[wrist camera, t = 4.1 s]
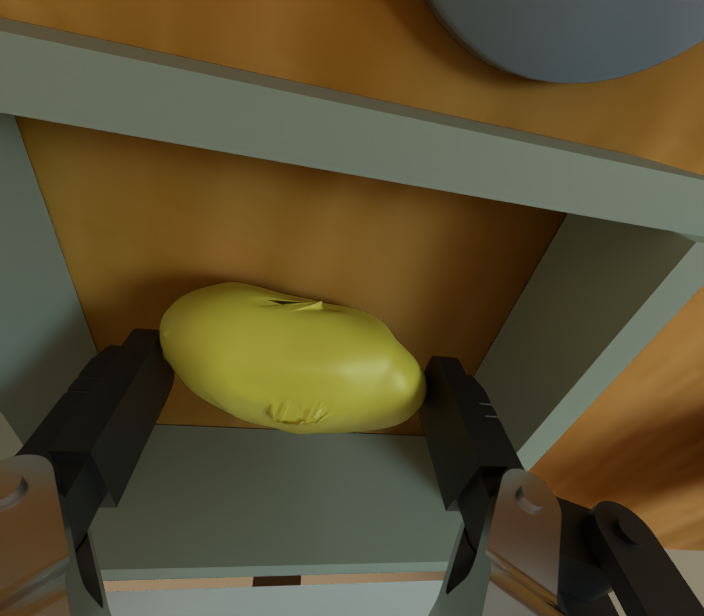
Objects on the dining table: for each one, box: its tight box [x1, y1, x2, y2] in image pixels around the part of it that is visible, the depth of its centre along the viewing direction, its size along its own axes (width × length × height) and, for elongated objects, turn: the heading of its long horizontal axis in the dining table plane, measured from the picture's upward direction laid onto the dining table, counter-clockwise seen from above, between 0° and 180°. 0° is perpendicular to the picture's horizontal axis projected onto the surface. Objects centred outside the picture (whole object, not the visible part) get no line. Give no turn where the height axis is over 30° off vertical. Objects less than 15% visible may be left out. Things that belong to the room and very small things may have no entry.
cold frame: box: [0, 17, 704, 581], centre depth 10 cm, size 14×16×5 cm
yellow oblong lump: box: [159, 282, 427, 434], centre depth 10 cm, size 4×8×4 cm, turn 61°
